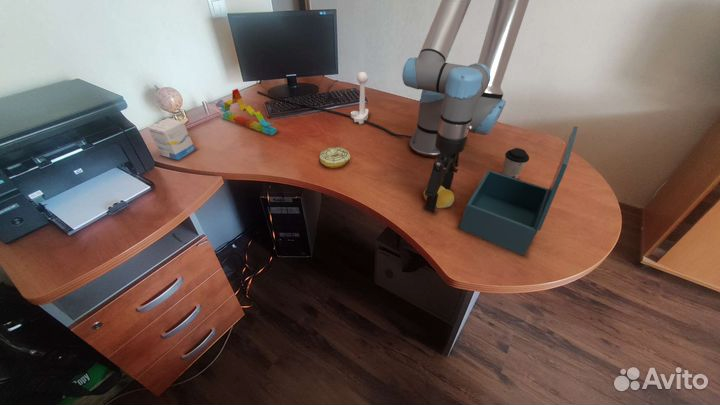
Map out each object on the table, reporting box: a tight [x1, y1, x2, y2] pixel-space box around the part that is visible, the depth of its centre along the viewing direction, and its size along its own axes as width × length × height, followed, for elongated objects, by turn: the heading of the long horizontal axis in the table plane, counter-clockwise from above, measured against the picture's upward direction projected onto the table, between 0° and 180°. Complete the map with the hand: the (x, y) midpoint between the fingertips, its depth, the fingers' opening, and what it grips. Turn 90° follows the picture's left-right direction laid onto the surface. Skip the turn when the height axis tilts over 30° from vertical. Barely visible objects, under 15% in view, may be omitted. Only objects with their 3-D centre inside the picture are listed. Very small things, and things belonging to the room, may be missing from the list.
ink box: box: [147, 117, 196, 161], centre depth 107 cm, size 9×8×12 cm
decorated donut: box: [319, 146, 351, 169], centre depth 105 cm, size 10×11×4 cm
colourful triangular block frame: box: [220, 88, 278, 136], centre depth 123 cm, size 30×3×15 cm, turn 58°
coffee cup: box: [501, 147, 530, 179], centre depth 94 cm, size 7×7×10 cm
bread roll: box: [423, 184, 455, 209], centre depth 88 cm, size 8×9×4 cm
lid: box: [536, 125, 579, 231], centre depth 68 cm, size 18×19×1 cm
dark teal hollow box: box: [458, 169, 549, 256], centre depth 80 cm, size 17×19×9 cm
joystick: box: [350, 71, 369, 125], centre depth 126 cm, size 11×8×20 cm
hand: (437, 199), depth 89 cm, fingers open, 11 cm apart
